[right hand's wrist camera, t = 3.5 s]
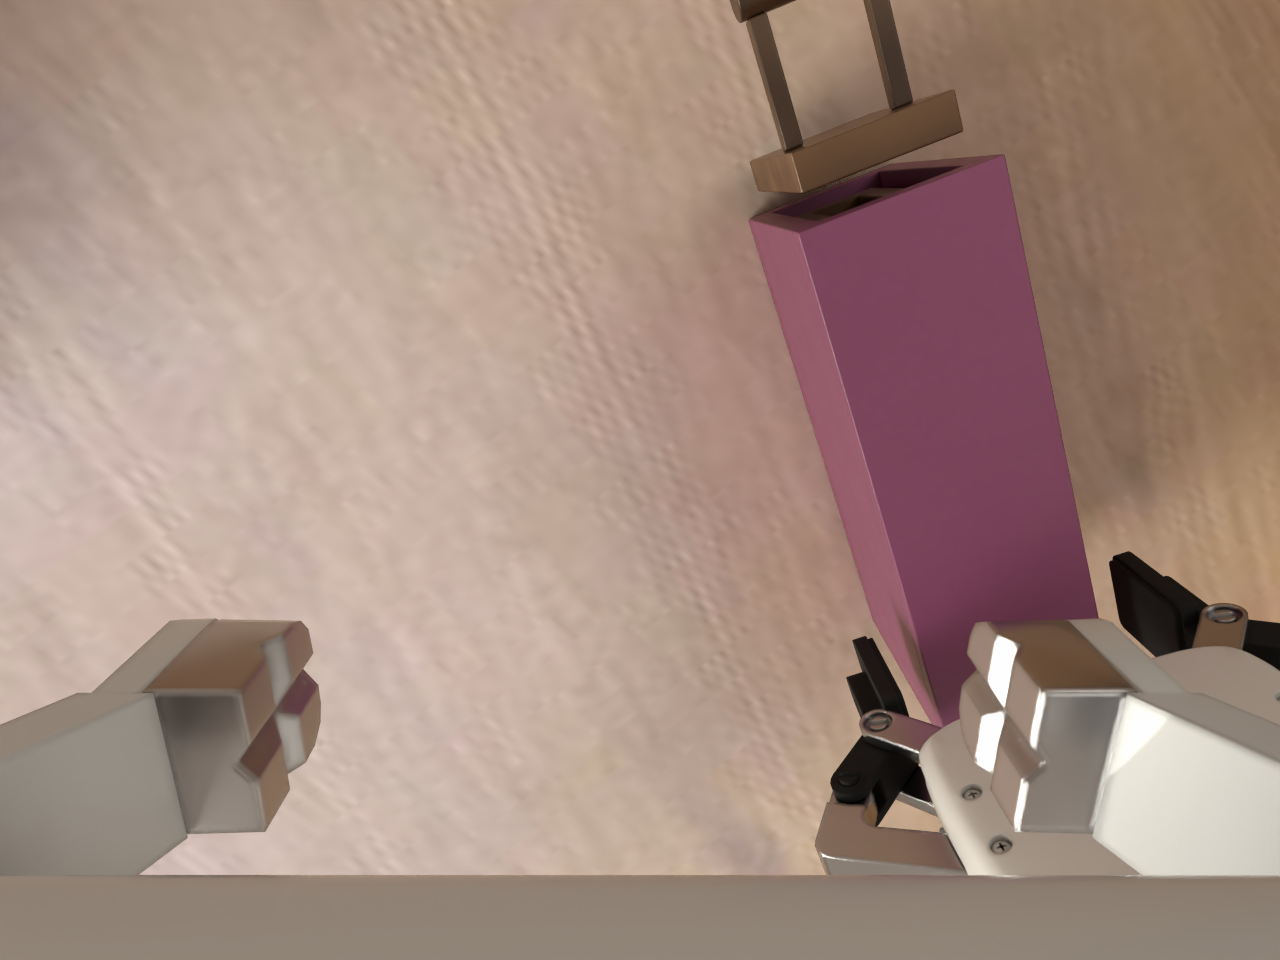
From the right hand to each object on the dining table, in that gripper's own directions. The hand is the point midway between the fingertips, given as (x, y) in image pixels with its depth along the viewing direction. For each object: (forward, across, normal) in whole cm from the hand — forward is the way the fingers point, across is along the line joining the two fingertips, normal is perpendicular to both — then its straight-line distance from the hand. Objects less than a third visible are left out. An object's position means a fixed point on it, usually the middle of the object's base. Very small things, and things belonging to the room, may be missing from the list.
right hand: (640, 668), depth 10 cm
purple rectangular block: (+26, +11, -4) cm, 29 cm away
